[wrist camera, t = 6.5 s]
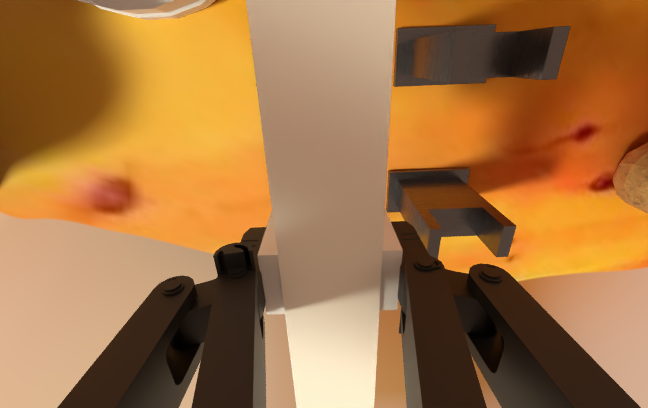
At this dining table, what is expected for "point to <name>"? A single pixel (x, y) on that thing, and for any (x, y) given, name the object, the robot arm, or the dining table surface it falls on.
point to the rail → (327, 182)
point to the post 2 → (447, 208)
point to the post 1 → (476, 54)
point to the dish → (152, 7)
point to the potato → (633, 178)
